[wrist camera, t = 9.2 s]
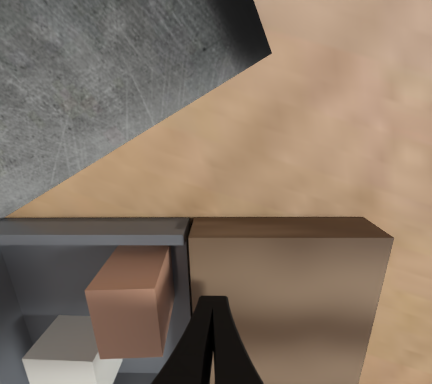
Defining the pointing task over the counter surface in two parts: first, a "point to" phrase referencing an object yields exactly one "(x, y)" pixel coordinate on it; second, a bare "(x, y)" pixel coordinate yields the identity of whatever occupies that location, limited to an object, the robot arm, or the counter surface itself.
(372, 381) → the counter surface
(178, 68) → the meat cleaver
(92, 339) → the pale grey cube
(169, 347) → the charcoal tray
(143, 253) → the peach matte cube
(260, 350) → the walnut board
